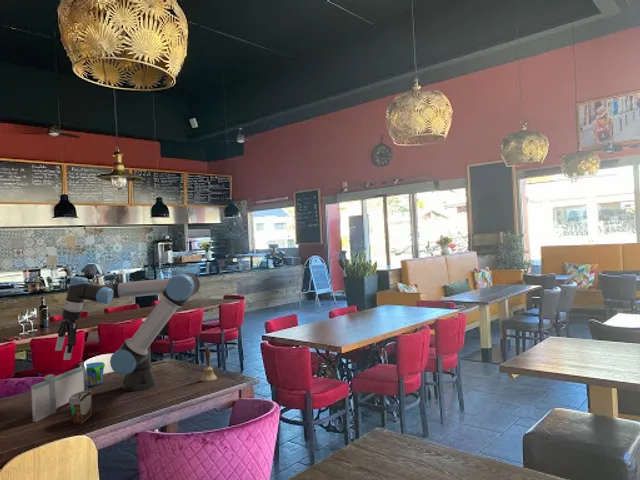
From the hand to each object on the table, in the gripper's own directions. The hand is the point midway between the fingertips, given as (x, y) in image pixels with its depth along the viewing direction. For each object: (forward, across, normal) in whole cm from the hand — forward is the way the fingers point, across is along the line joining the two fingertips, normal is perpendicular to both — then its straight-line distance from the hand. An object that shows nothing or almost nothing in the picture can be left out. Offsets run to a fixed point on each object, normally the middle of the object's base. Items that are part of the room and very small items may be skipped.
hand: (62, 354), depth 219 cm
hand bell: (+3, +31, +61) cm, 68 cm away
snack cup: (+19, -10, +21) cm, 30 cm away
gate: (+16, +15, +2) cm, 22 cm away
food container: (+14, +39, -1) cm, 42 cm away
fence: (+18, +17, -1) cm, 25 cm away
